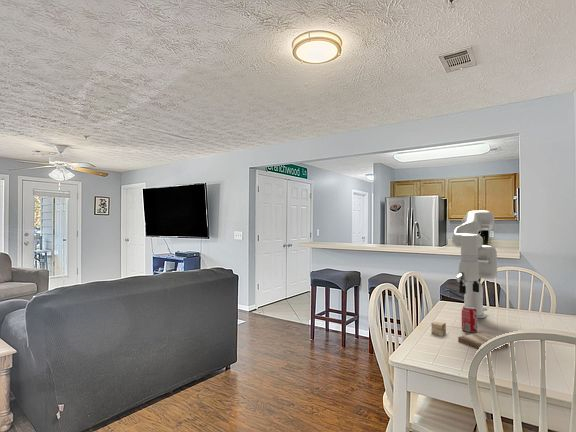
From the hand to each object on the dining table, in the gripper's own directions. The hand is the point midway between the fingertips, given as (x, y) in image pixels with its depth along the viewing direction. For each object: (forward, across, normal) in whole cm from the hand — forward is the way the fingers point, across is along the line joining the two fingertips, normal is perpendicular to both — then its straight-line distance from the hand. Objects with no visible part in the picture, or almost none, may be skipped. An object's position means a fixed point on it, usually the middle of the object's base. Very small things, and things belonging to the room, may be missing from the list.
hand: (469, 292), depth 171 cm
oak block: (+20, +17, -4) cm, 26 cm away
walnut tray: (+20, +11, +15) cm, 27 cm away
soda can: (+20, 0, 0) cm, 20 cm away
